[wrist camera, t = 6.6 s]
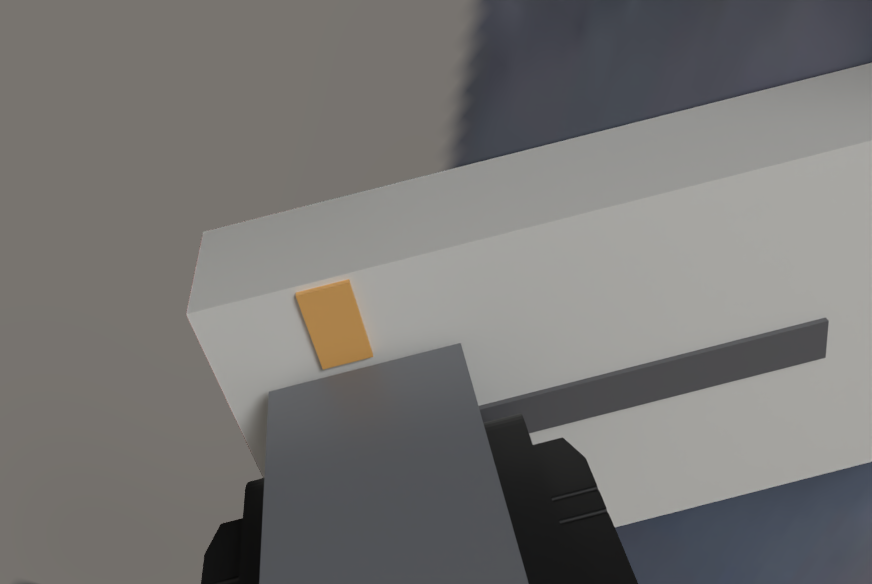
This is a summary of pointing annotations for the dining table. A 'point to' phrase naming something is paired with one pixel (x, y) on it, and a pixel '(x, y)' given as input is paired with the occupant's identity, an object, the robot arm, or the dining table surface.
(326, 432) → the fader tab
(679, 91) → the dining table surface
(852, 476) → the dining table surface
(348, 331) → the console
